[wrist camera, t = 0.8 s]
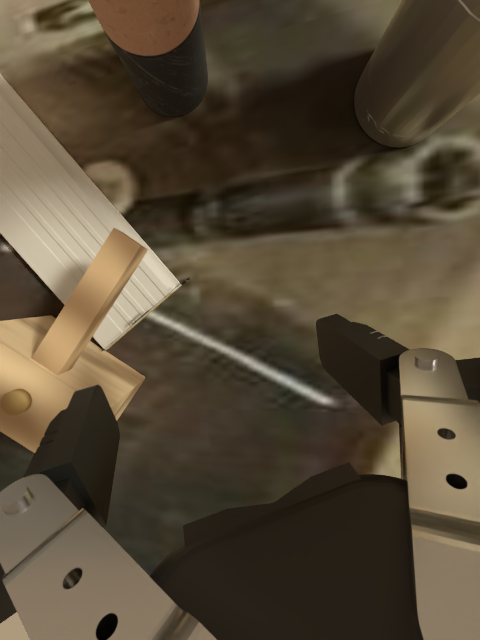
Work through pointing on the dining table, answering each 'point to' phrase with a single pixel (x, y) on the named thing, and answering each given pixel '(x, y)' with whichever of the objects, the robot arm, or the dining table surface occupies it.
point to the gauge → (66, 349)
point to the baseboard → (66, 219)
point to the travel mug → (159, 49)
